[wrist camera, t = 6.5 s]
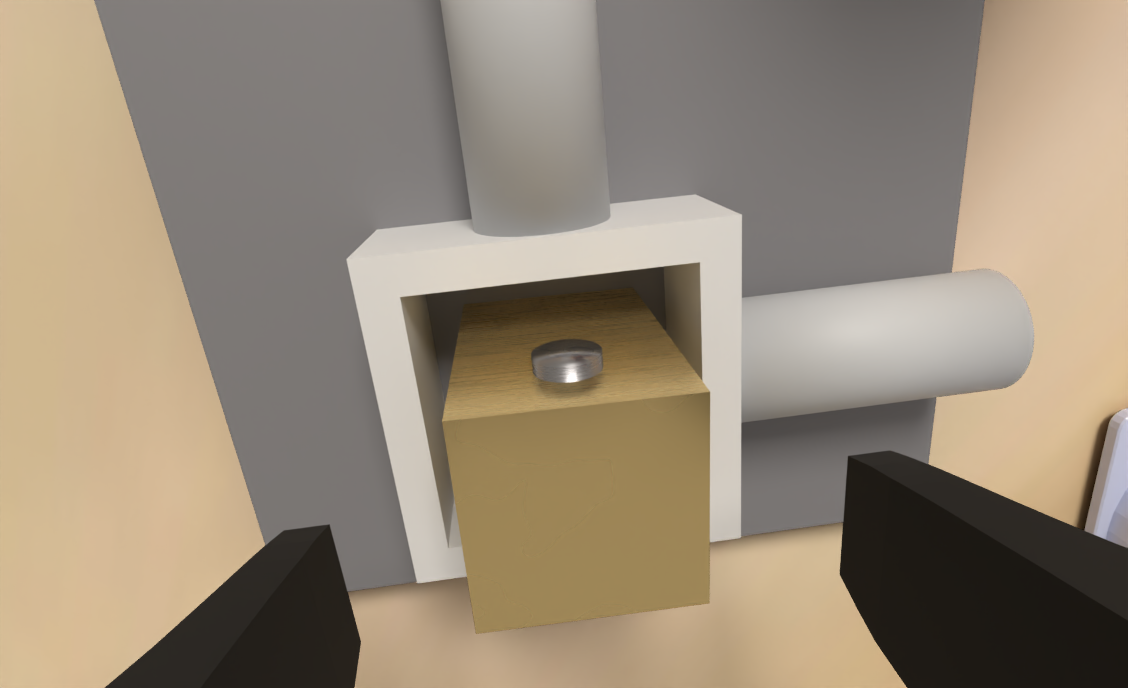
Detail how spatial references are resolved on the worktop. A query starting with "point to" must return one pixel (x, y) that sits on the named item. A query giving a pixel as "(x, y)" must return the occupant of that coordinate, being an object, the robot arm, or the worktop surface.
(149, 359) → the worktop surface
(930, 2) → the shaft board
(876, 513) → the robot arm
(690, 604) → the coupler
